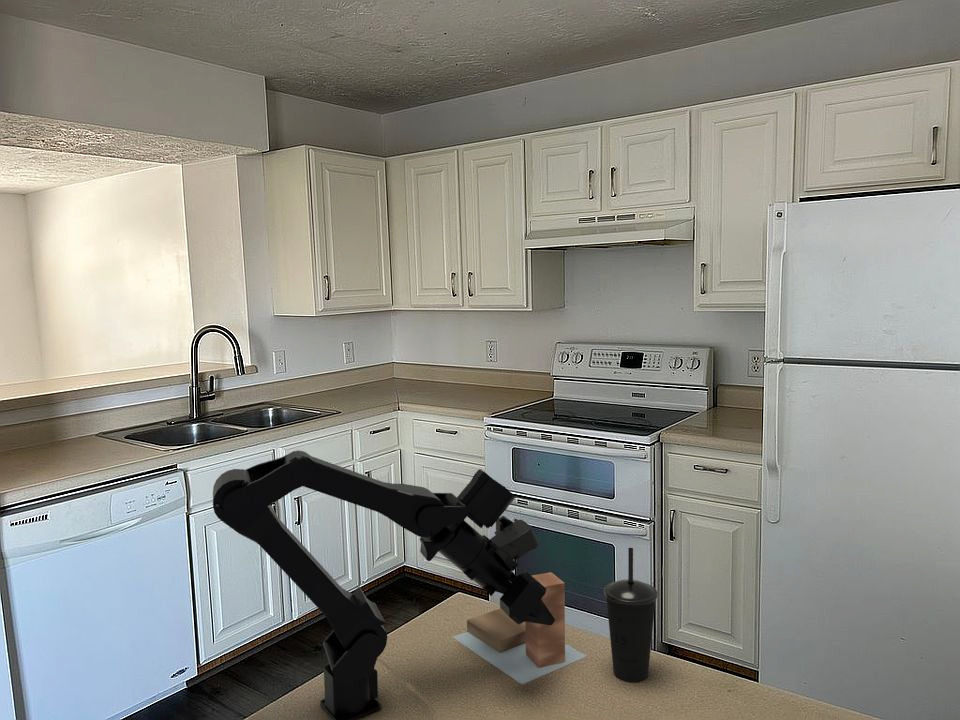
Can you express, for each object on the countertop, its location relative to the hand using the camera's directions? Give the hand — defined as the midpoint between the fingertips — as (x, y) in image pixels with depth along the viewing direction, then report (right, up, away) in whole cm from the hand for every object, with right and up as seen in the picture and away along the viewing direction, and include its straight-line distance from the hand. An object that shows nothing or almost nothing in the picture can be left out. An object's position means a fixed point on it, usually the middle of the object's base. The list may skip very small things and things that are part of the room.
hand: (539, 609), depth 110 cm
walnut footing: (-5, -7, +9) cm, 13 cm away
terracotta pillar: (+1, -8, +1) cm, 8 cm away
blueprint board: (-3, -9, +5) cm, 10 cm away
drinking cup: (+13, -9, -4) cm, 16 cm away
